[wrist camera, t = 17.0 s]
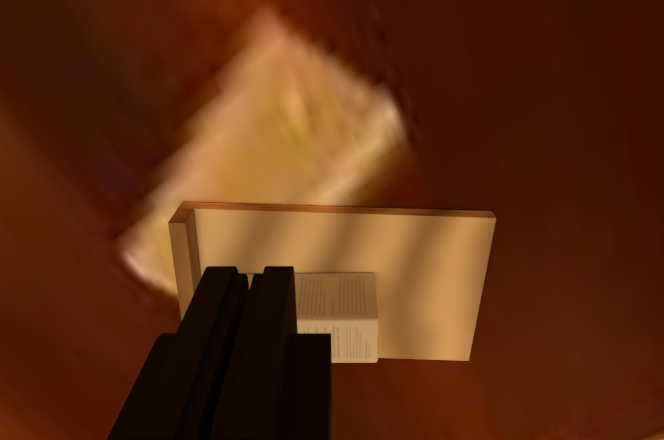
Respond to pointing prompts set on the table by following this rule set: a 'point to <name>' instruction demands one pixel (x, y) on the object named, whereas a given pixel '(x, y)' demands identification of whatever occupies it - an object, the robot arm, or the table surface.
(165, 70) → the table surface
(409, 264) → the board
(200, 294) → the robot arm
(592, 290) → the table surface
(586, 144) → the table surface
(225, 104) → the table surface
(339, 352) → the skincare box
